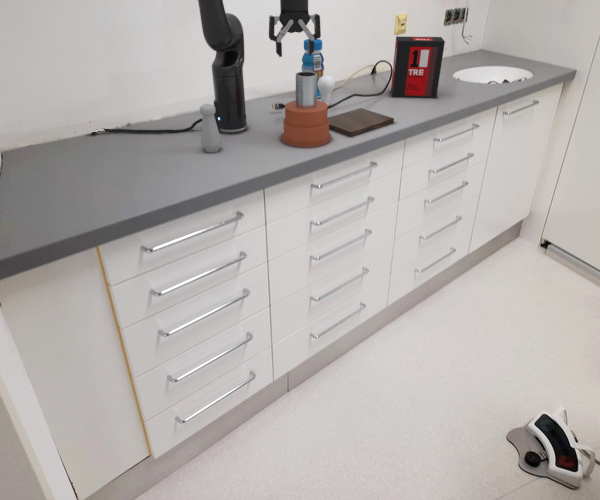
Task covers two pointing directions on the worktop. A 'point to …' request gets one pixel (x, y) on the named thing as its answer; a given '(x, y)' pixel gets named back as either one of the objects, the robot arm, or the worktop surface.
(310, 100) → the steel cup
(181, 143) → the worktop surface
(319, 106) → the terracotta flower pot
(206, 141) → the salt shaker
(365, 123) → the board
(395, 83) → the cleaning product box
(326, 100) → the lightbulb
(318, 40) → the beverage bottle
